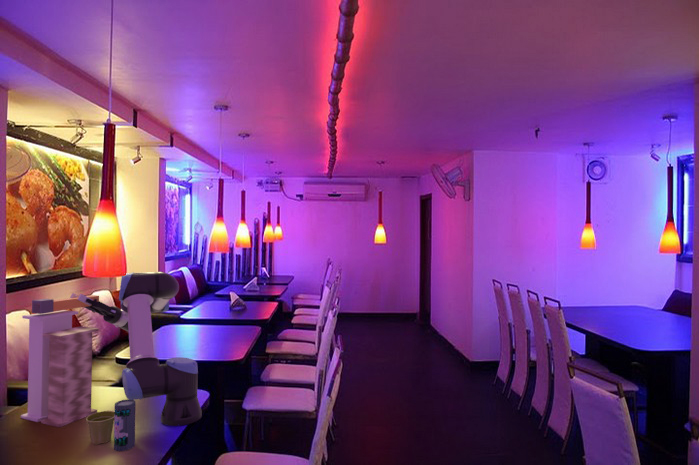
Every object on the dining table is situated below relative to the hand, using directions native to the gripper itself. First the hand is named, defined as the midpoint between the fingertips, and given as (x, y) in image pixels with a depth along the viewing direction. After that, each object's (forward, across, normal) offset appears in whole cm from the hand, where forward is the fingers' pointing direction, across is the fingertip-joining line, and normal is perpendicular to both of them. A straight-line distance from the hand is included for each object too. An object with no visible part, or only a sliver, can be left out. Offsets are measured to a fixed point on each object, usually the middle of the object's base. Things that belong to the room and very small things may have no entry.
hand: (75, 296), depth 192 cm
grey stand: (-14, 0, -45) cm, 47 cm away
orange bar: (+1, 0, -6) cm, 6 cm away
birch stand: (-14, -12, -45) cm, 48 cm away
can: (-6, -52, -50) cm, 72 cm away
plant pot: (-6, -41, -50) cm, 65 cm away
